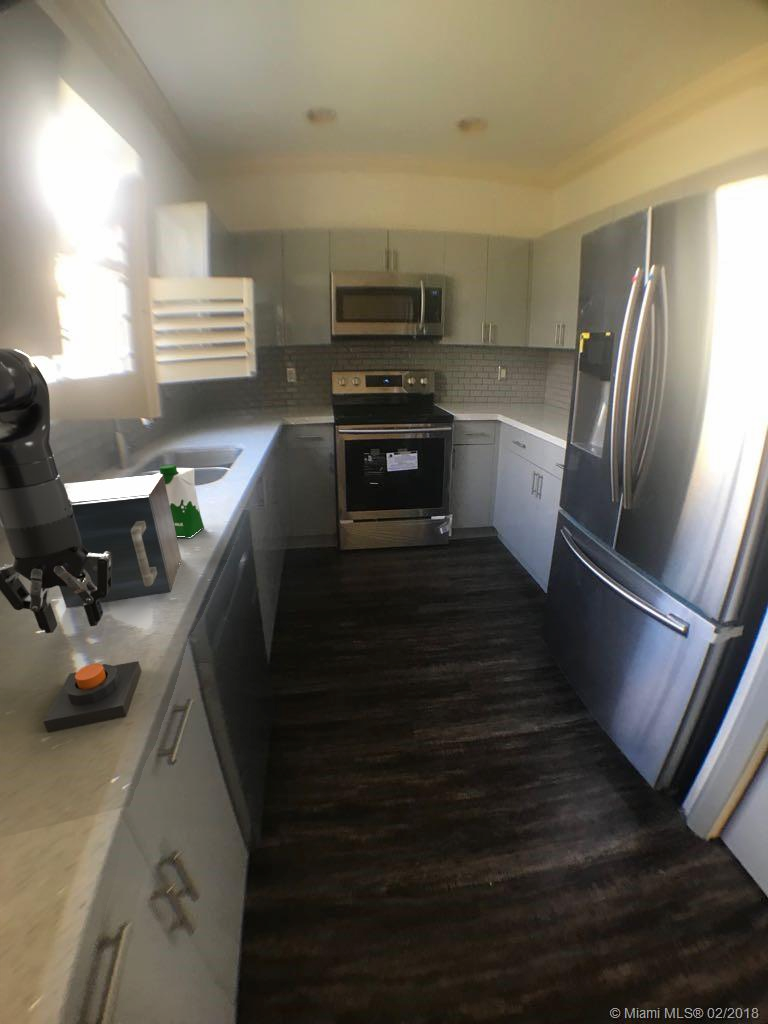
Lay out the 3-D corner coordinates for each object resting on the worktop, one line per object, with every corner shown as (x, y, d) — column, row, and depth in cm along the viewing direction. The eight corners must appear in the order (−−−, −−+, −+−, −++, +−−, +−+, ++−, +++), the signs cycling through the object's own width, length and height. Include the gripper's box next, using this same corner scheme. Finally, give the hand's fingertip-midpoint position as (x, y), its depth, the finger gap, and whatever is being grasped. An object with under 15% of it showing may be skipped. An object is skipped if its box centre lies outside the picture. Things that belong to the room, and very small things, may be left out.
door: (166, 604, 94) (142, 505, 86) (56, 622, 89) (20, 519, 81) (171, 589, 99) (149, 495, 91) (67, 605, 95) (35, 507, 87)
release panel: (47, 733, 64) (39, 711, 62) (73, 684, 73) (66, 664, 71) (126, 717, 66) (119, 695, 64) (141, 671, 75) (136, 651, 74)
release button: (74, 691, 66) (71, 682, 65) (82, 675, 69) (79, 665, 69) (101, 686, 67) (98, 677, 66) (109, 670, 70) (106, 661, 69)
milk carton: (162, 538, 125) (146, 468, 118) (181, 526, 134) (167, 459, 126) (191, 540, 124) (177, 469, 116) (209, 527, 132) (196, 459, 125)
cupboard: (171, 589, 100) (149, 494, 92) (68, 605, 95) (35, 506, 87) (181, 559, 113) (163, 474, 105) (91, 571, 108) (65, 483, 101)
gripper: (-47, 533, 53) (2, 652, 60) (90, 517, 57) (123, 632, 63) (-13, 511, 60) (28, 620, 66) (107, 498, 63) (135, 603, 70)
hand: (74, 625), depth 64 cm, fingers open, 5 cm apart
